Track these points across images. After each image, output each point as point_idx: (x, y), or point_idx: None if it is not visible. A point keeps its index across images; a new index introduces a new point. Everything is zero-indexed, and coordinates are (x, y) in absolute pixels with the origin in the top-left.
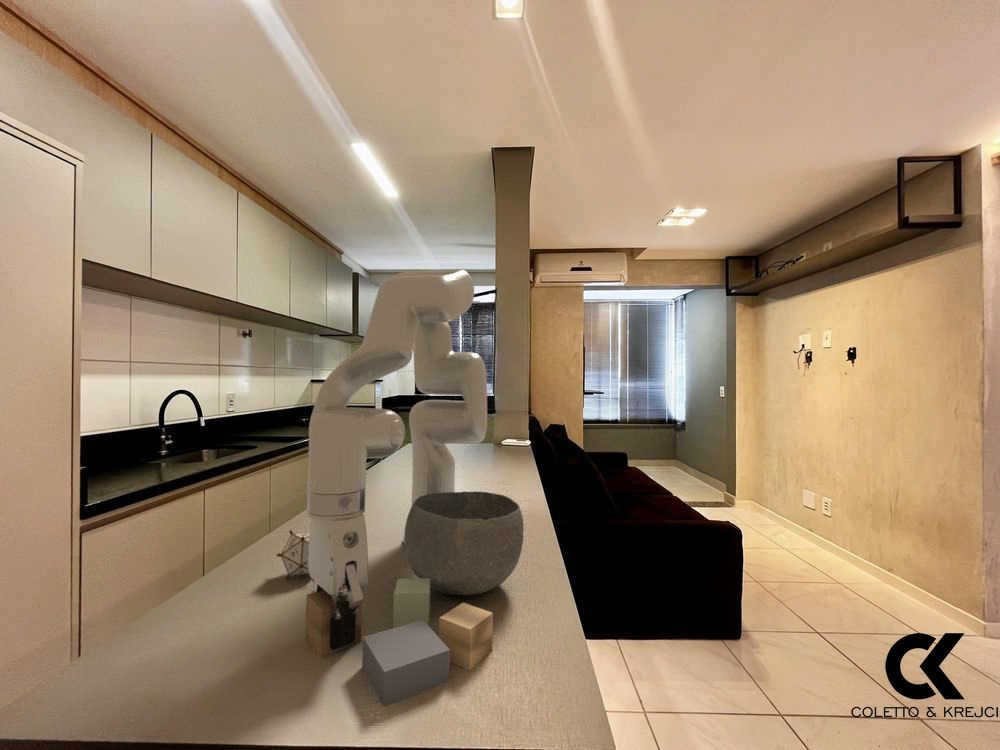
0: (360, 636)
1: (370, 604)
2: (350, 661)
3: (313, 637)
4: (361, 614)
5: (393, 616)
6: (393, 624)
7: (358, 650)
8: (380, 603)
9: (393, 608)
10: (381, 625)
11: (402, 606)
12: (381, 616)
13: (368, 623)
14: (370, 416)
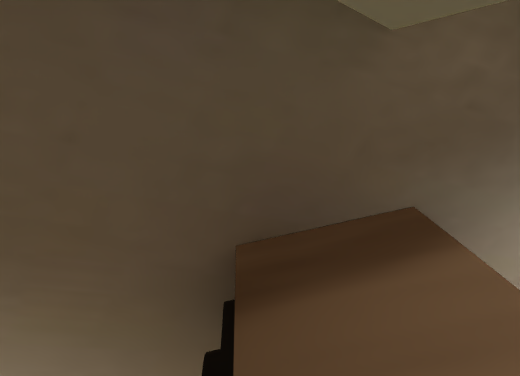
0: (428, 220)
1: (50, 78)
2: (514, 264)
3: None
4: (509, 282)
5: (427, 19)
6: (400, 24)
7: (467, 227)
8: (55, 10)
9: (464, 11)
10: (329, 83)
11: None
12: (231, 54)
13: (274, 141)
14: None
